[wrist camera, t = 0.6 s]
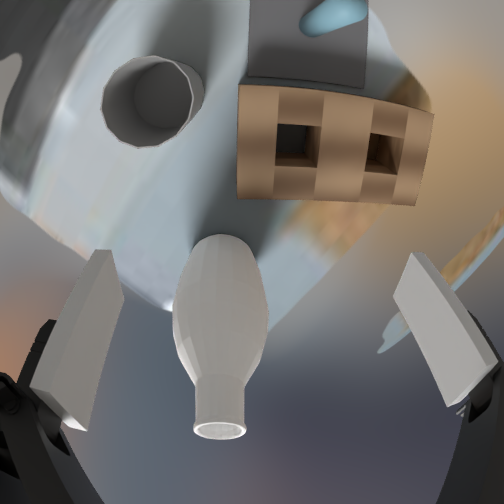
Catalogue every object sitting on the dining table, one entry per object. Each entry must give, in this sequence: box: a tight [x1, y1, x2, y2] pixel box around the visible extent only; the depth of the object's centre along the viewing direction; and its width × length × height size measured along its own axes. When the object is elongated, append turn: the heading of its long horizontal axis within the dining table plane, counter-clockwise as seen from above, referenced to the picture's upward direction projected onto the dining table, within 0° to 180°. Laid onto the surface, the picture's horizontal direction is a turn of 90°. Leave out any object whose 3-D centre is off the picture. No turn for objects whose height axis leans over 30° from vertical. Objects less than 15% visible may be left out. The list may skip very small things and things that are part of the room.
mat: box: [247, 0, 368, 89], centre depth 25 cm, size 14×14×1 cm
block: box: [236, 84, 434, 206], centre depth 31 cm, size 12×22×6 cm, turn 88°
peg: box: [299, 0, 368, 38], centre depth 20 cm, size 3×3×12 cm
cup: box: [100, 55, 205, 149], centre depth 25 cm, size 8×8×10 cm
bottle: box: [173, 234, 269, 439], centre depth 32 cm, size 11×11×25 cm
